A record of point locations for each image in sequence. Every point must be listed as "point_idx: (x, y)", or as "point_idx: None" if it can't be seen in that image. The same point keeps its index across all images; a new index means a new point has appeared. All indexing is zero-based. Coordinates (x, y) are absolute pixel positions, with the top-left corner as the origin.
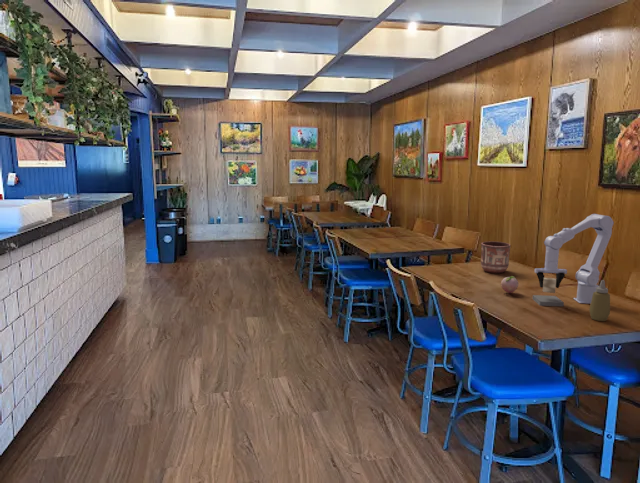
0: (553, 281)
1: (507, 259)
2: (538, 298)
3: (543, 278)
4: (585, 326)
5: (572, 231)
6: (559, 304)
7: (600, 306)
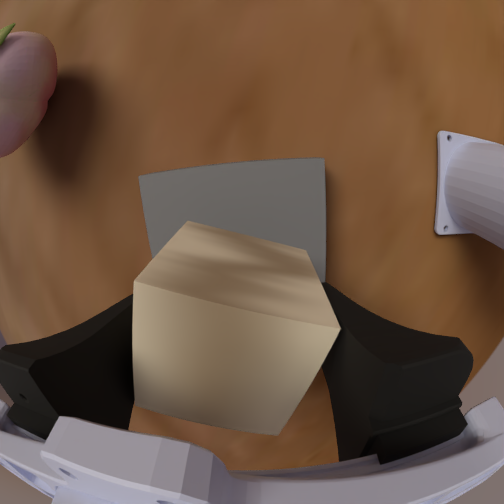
0: (248, 427)
1: None
2: None
3: (125, 424)
4: (293, 463)
5: None
6: None
7: None
